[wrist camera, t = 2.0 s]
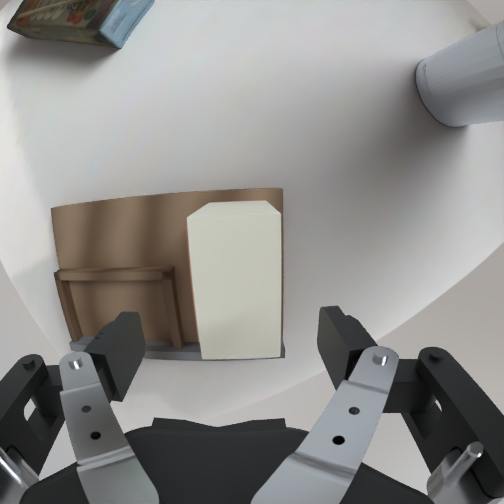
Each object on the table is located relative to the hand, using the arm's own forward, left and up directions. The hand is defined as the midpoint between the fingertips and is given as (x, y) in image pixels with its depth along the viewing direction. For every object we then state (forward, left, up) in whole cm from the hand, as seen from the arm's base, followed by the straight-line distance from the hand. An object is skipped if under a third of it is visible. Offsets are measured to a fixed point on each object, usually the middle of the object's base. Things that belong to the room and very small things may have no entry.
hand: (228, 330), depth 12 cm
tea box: (0, 0, -14) cm, 14 cm away
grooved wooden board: (+8, +3, -16) cm, 18 cm away
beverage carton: (+18, -30, -17) cm, 39 cm away
